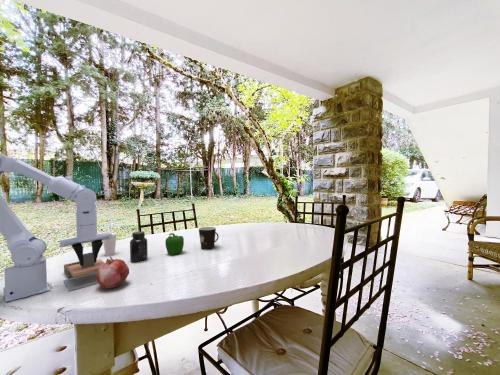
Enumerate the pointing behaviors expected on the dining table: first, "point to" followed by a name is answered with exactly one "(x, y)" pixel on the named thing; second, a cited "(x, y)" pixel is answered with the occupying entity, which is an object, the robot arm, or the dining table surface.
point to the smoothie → (110, 244)
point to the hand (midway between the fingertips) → (88, 263)
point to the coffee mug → (207, 237)
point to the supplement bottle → (138, 247)
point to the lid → (85, 265)
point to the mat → (81, 281)
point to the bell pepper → (174, 244)
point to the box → (69, 271)
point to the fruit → (112, 273)
